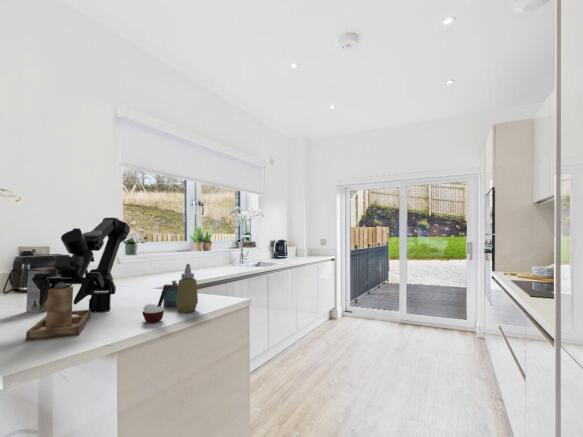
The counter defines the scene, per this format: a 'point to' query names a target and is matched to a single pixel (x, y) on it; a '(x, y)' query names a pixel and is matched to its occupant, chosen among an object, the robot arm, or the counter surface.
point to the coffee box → (37, 290)
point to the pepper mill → (59, 306)
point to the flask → (171, 295)
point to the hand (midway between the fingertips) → (57, 304)
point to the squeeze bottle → (187, 292)
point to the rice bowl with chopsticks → (154, 309)
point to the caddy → (76, 327)
